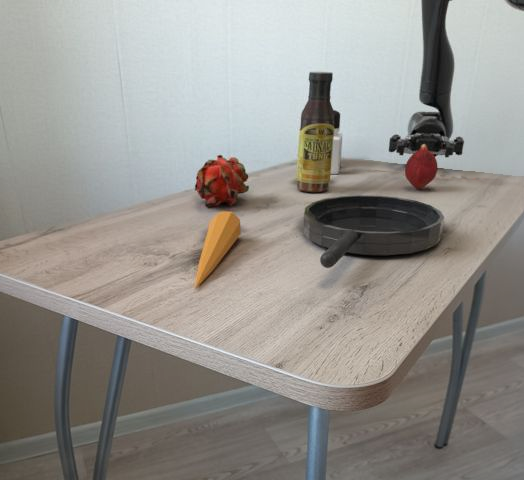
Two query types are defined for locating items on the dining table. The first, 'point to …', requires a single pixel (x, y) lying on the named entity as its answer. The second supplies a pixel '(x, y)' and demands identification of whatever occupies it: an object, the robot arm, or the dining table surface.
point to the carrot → (217, 243)
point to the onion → (421, 168)
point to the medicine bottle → (336, 145)
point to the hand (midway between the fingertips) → (424, 150)
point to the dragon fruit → (221, 181)
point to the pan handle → (339, 249)
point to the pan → (374, 224)
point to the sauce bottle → (316, 136)
